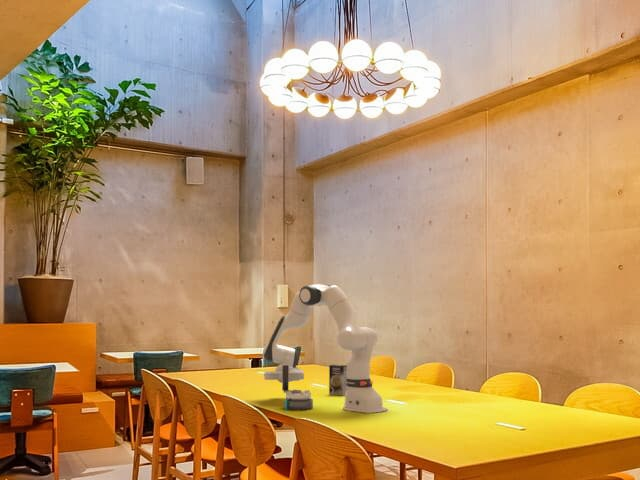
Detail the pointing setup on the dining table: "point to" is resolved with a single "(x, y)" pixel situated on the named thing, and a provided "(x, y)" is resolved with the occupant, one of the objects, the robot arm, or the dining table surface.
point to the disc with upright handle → (293, 394)
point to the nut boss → (298, 405)
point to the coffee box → (337, 379)
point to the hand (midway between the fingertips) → (284, 377)
